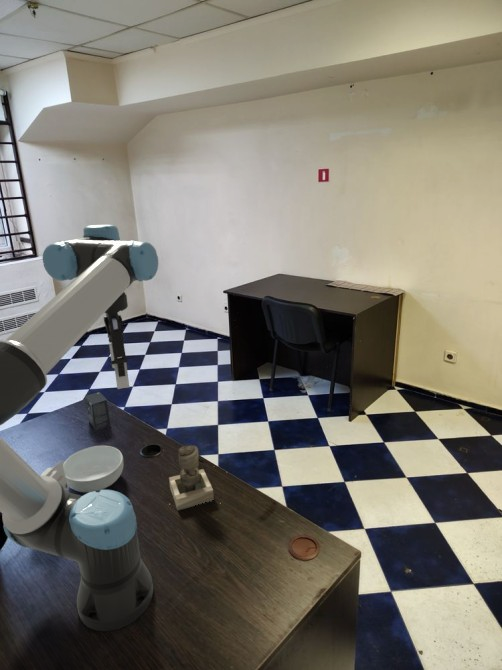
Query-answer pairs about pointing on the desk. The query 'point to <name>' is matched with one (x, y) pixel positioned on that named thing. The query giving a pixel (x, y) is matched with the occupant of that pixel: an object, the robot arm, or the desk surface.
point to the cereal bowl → (93, 468)
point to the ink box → (57, 474)
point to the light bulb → (189, 466)
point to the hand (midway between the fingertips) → (120, 376)
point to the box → (97, 410)
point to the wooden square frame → (193, 497)
